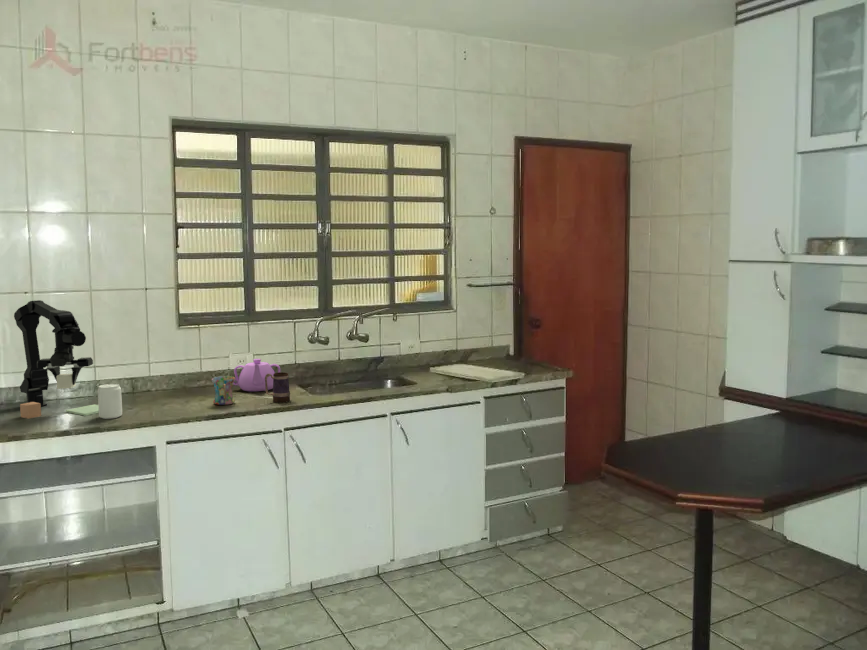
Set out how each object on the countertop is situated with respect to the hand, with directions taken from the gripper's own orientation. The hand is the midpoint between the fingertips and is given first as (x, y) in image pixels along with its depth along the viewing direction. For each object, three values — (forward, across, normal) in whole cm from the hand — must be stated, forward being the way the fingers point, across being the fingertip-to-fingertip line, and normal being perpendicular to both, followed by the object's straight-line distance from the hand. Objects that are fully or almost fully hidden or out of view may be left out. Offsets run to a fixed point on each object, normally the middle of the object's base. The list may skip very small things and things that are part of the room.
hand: (66, 384), depth 282 cm
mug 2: (+12, +78, +11) cm, 80 cm away
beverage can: (+12, +18, -8) cm, 23 cm away
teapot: (+12, +68, +36) cm, 77 cm away
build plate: (+11, +7, +3) cm, 14 cm away
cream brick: (+1, 0, 0) cm, 1 cm away
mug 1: (+12, +57, +8) cm, 59 cm away
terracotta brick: (+11, -12, -3) cm, 17 cm away
